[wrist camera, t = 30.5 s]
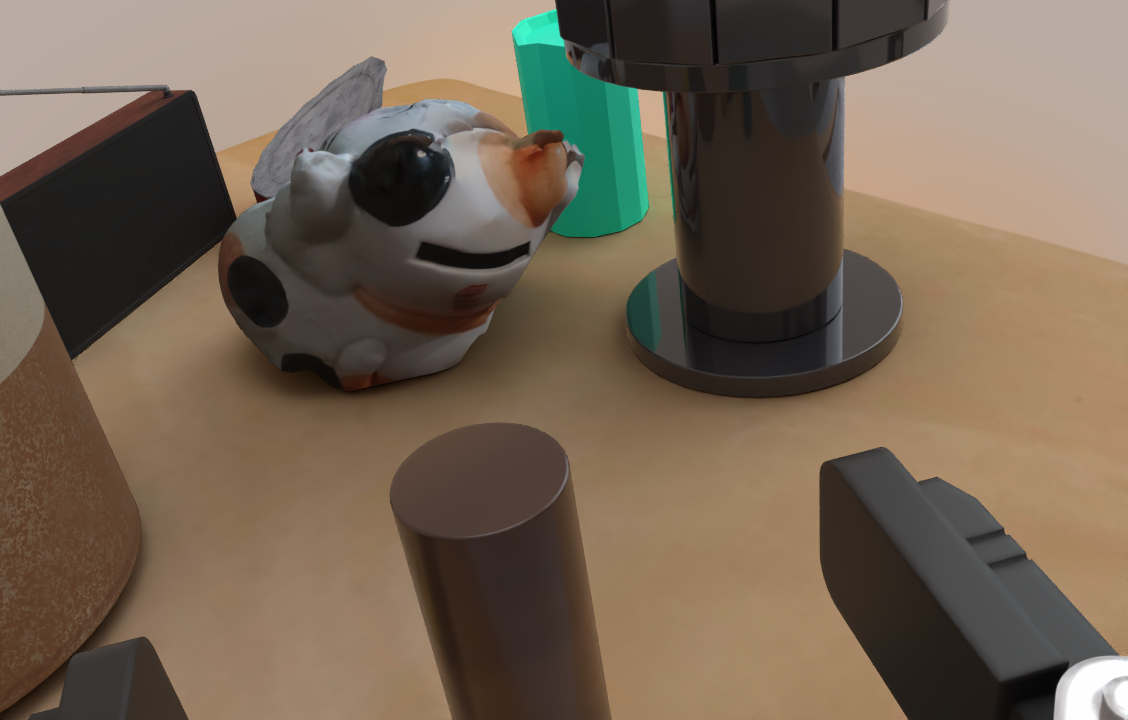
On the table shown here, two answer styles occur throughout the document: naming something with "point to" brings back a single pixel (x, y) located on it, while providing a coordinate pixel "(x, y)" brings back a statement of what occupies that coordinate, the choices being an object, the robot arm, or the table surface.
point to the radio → (117, 209)
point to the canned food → (318, 123)
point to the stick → (501, 574)
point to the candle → (584, 130)
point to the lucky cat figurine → (394, 241)
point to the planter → (51, 493)
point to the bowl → (754, 182)
